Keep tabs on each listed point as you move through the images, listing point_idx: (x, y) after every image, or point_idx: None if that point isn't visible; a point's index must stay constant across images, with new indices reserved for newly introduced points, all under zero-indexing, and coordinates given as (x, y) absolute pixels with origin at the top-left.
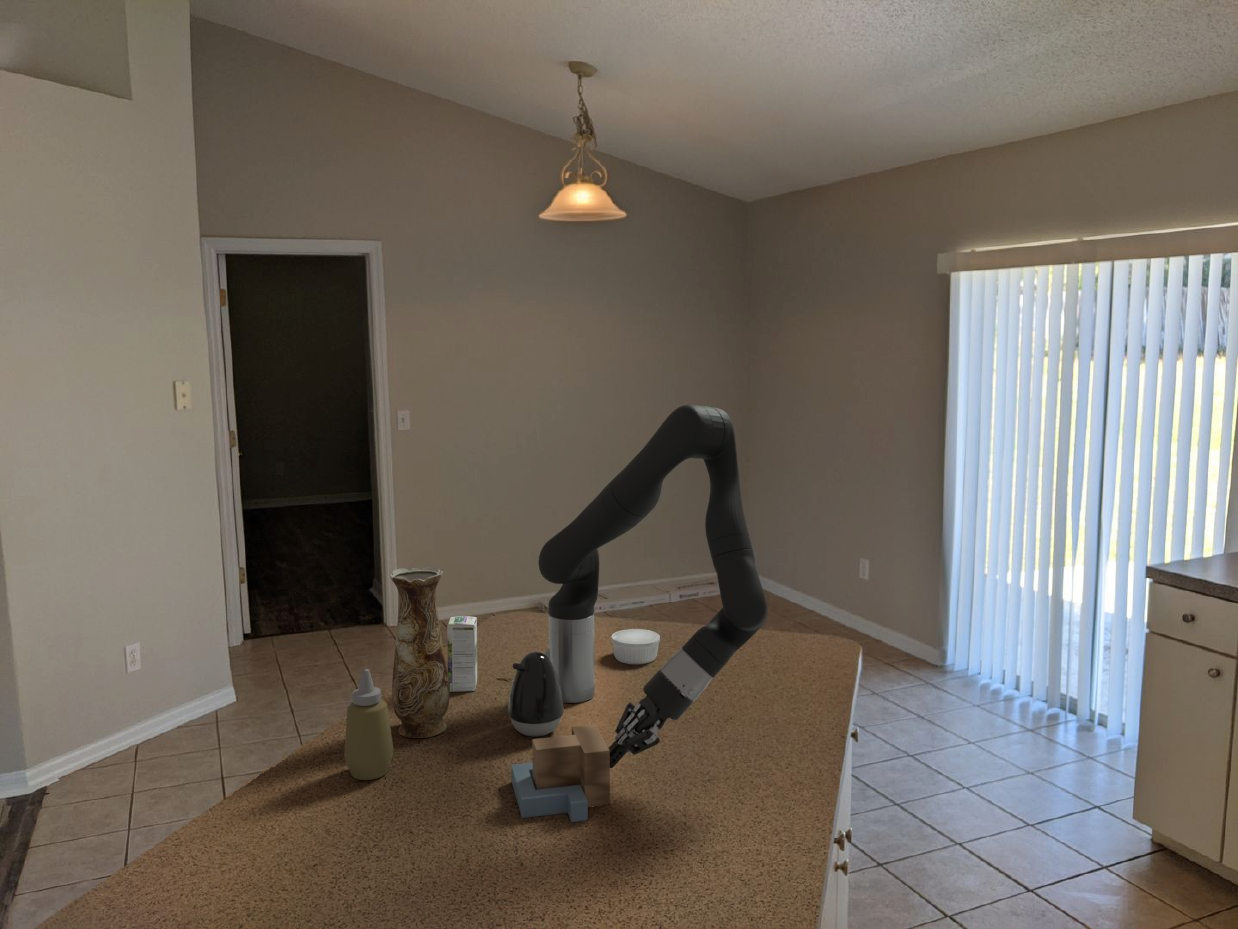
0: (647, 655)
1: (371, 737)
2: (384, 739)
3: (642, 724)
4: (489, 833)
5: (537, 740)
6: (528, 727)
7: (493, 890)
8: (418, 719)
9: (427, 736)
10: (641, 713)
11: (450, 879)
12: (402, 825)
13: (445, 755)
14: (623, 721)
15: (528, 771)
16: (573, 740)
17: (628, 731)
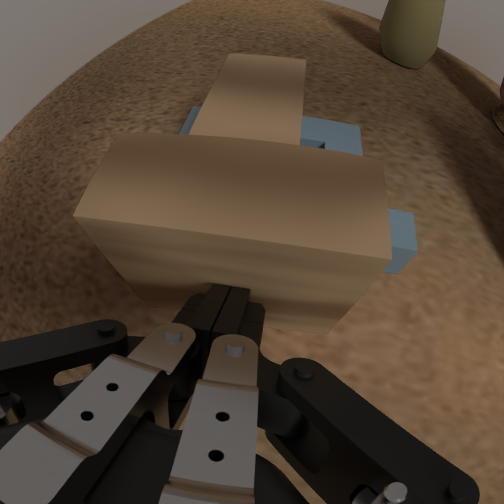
0: None
1: (390, 5)
2: (399, 18)
3: (21, 427)
4: (183, 98)
5: (293, 64)
6: None
7: (71, 99)
8: (502, 95)
9: (497, 123)
10: (22, 468)
11: (119, 71)
12: (261, 48)
13: (453, 120)
14: (326, 418)
15: (315, 138)
16: (244, 125)
17: (110, 358)
